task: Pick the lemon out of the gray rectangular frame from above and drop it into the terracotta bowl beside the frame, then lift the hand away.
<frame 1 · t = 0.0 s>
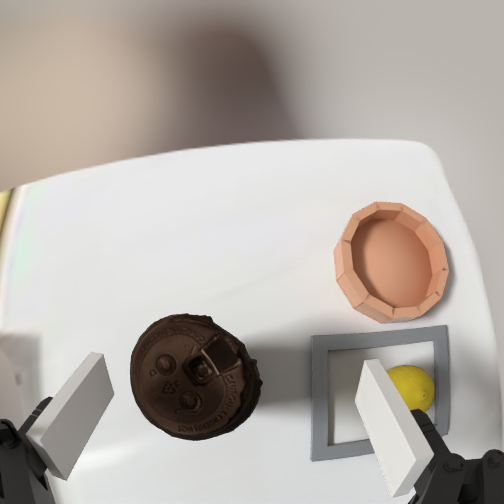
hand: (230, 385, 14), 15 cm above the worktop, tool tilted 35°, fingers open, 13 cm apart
lemon: (384, 392, 27), resting in gray rectangular frame
coffee cup: (214, 376, 28), on the worktop
gray rectangular frame: (385, 392, 27), on the worktop
bowl: (388, 265, 32), on the worktop
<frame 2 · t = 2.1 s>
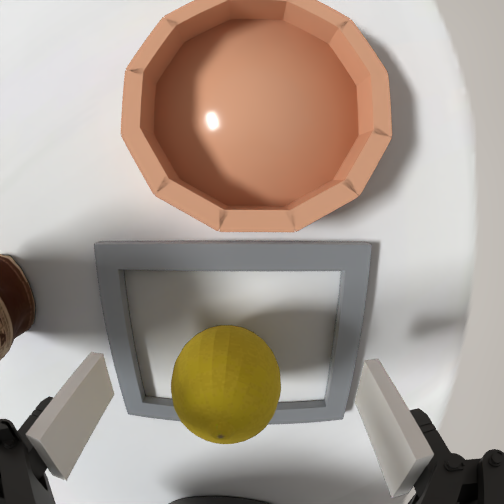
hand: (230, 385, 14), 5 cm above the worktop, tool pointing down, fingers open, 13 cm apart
lemon: (231, 342, 19), resting in gray rectangular frame
coffee cup: (12, 292, 18), on the worktop
gray rectangular frame: (231, 343, 18), on the worktop
bowl: (256, 106, 15), on the worktop
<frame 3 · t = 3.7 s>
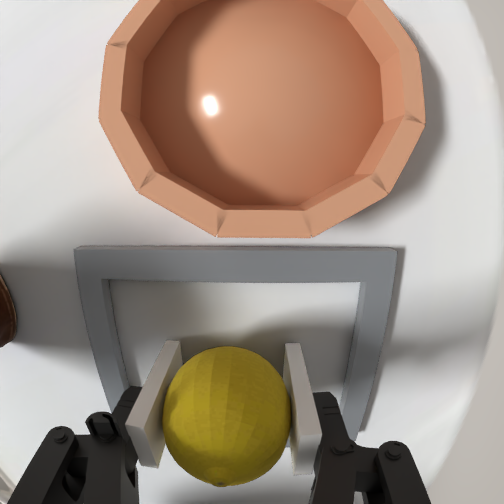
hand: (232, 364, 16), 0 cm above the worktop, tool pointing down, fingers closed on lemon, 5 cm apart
lemon: (233, 361, 16), resting in gray rectangular frame, touching gripper
gray rectangular frame: (232, 363, 16), on the worktop
bowl: (262, 86, 12), on the worktop
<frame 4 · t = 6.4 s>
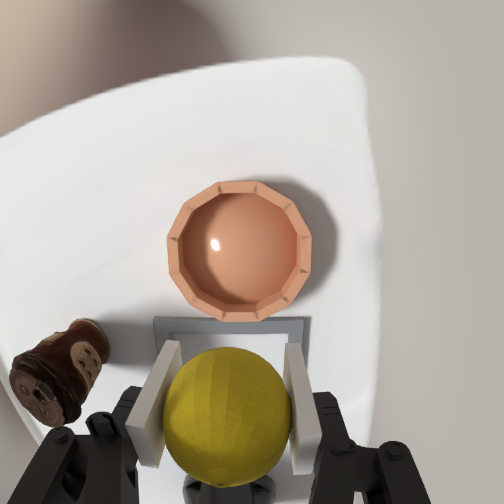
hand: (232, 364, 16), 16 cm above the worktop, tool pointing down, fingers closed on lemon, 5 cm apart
lemon: (233, 361, 16), point 15 cm above the worktop, touching gripper
coffee cup: (90, 340, 33), on the worktop
gray rectangular frame: (229, 368, 33), on the worktop
bowl: (239, 248, 30), on the worktop
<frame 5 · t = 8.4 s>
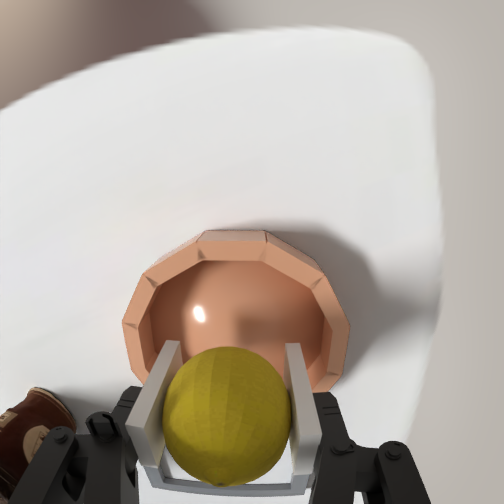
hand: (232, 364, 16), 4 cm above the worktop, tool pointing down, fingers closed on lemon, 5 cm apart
lemon: (233, 361, 16), point 4 cm above the worktop, touching gripper
coffee cup: (53, 410, 23), on the worktop
gray rectangular frame: (223, 458, 23), on the worktop
bowl: (236, 329, 19), on the worktop
when the fingers open (4 cm above the worktop, at t = 9.1 s): lemon drops 3 cm, resting on bowl.
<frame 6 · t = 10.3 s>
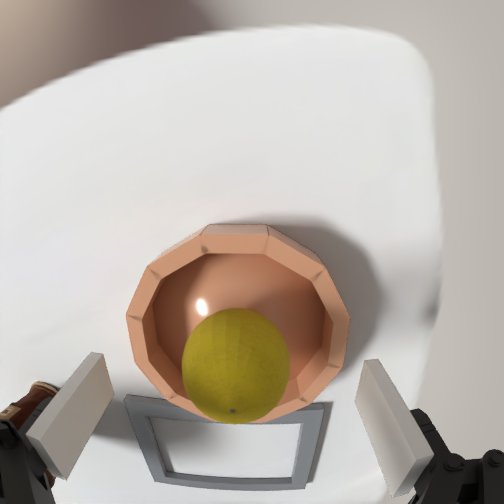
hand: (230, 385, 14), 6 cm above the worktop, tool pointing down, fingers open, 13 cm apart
lemon: (239, 330, 19), point 1 cm above the worktop, touching bowl
coffee cup: (56, 405, 23), on the worktop
gray rectangular frame: (225, 451, 23), on the worktop
bowl: (238, 322, 20), on the worktop
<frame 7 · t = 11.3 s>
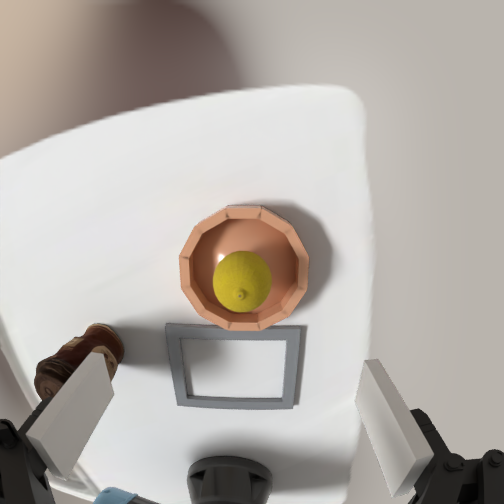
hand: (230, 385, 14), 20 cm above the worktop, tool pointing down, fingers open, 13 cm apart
lemon: (244, 268, 33), point 1 cm above the worktop, touching bowl
coffee cup: (105, 343, 37), on the worktop
gray rectangular frame: (233, 369, 37), on the worktop
bowl: (244, 264, 33), on the worktop
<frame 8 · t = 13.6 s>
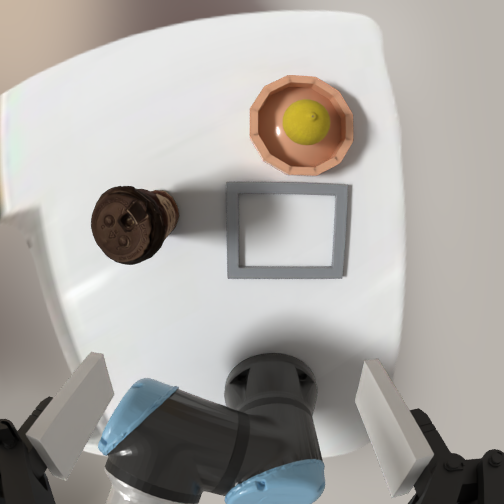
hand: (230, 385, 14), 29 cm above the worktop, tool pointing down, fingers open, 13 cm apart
lemon: (300, 127, 37), point 1 cm above the worktop, touching bowl
coffee cup: (159, 212, 41), on the worktop
gray rectangular frame: (287, 230, 41), on the worktop
bowl: (299, 127, 38), on the worktop
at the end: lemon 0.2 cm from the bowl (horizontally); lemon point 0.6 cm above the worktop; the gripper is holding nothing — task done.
